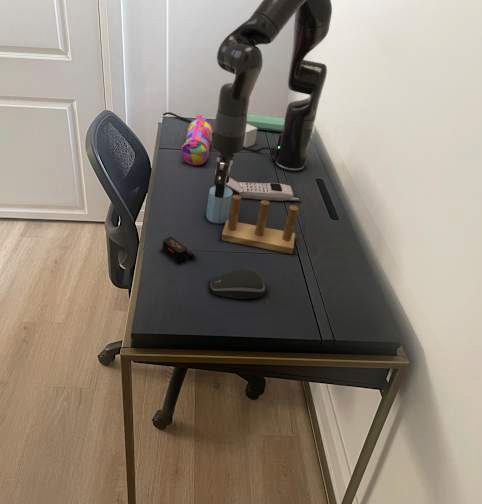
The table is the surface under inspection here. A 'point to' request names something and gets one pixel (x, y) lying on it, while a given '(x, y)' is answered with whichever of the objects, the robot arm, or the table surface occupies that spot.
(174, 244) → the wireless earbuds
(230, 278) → the computer mouse
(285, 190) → the mobile phone
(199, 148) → the pencil case
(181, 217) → the table surface
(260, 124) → the teal long bar
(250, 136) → the white cube
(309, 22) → the robot arm
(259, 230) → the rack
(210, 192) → the cup
